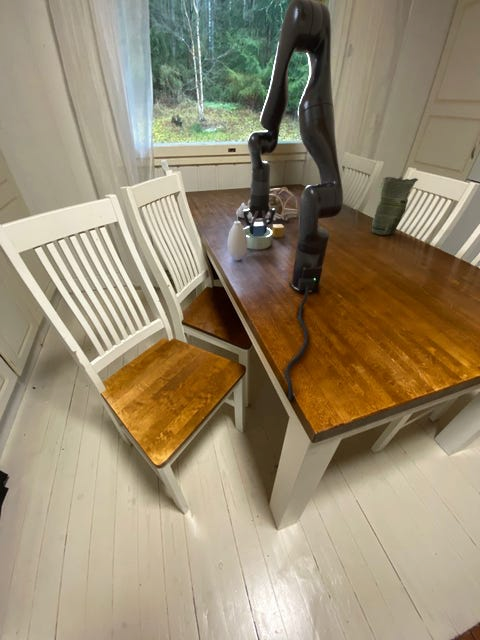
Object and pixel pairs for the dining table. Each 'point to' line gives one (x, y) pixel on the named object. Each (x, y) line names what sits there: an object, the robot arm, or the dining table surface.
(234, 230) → the sauce bottle
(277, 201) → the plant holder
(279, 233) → the mustard cube
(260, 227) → the blue cube
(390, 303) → the dining table surface
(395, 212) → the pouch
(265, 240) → the bowl
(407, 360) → the dining table surface
